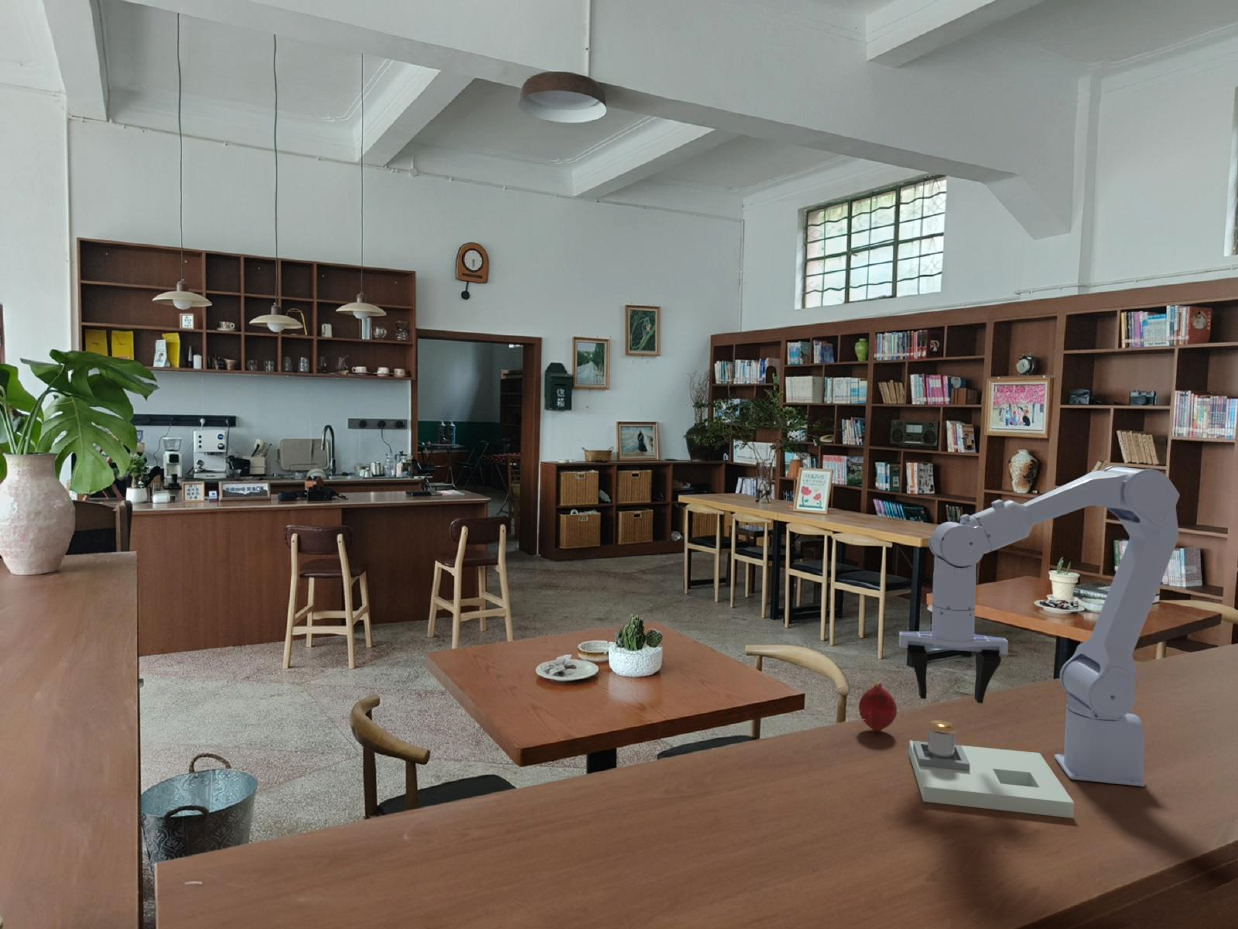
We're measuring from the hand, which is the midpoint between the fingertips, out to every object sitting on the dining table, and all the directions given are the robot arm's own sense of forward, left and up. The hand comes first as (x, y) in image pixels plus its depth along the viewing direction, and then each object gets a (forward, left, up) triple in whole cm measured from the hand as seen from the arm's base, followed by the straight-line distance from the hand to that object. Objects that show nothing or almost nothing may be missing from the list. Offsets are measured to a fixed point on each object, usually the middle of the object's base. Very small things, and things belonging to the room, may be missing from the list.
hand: (950, 698), depth 120 cm
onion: (+9, -11, -10) cm, 17 cm away
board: (-4, +5, -10) cm, 12 cm away
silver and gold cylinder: (+2, +3, -10) cm, 11 cm away
